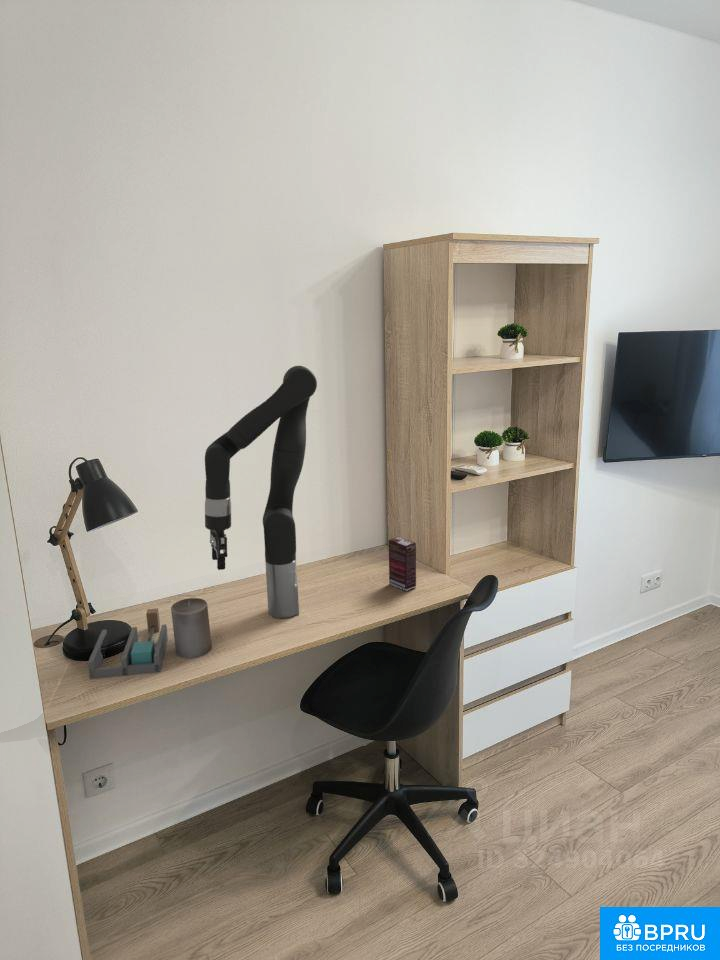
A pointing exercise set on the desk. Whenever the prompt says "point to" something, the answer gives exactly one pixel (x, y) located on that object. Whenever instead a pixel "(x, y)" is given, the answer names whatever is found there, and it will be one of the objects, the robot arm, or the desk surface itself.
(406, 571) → the supplement box
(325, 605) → the desk surface
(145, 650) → the block ended dumbbell
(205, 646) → the pillar candle
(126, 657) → the lane rack
